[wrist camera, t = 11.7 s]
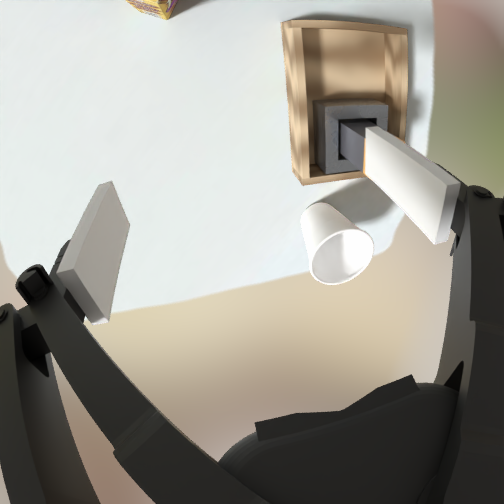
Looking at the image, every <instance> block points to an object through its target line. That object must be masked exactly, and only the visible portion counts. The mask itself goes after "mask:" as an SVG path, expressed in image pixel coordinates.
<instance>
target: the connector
mask: <svg viewBox="0 0 504 504" xmlns="http://www.w3.org/2000/svg"><path fill="white" fill-rule="evenodd" d="M376 126H377V125H375V124H374V123H372V122H370V121H368V120H366V119H364V118H355V119H338V152H340V153H341V154H342V155H343V156H344V157H345V158H347V159H348V160H349V161H350V162H351V163H352V164H354V165H355V166H356V167H357V168H358V169H359V170H360V171H361V172H363V173H364V174H365V155H366V127H376ZM378 127H379V126H378ZM380 128H381V127H380ZM381 129H382V128H381ZM383 130H384V129H383ZM385 131H386V130H385ZM386 132H388V131H386ZM388 133H389V132H388ZM390 134H391V133H390ZM391 135H393V134H391ZM393 136H394V135H393ZM394 137H396V136H394ZM396 138H398V137H396ZM398 139H399V138H398ZM399 140H401V139H399ZM401 141H402V142H404V141H403V140H401ZM404 143H405V142H404ZM365 175H366V174H365ZM366 176H367V175H366ZM367 177H368V176H367ZM368 178H369V177H368ZM369 179H370V178H369ZM370 180H371V179H370Z"/></svg>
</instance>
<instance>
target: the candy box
mask: <svg viewBox="0 0 504 504" xmlns="http://www.w3.org/2000/svg"><path fill="white" fill-rule="evenodd" d="M126 1H127V2H128V3H130V4H131V5H132V6H133V7H135V8H136V9H137V10H139V11H140V12H142V13H146V14H149V15H152V16H155V17H159V18H162V19H165V20H168V19H169V17H170V15H171V13H172V11H173V9H174V7H175V5H176V3H177V1H178V0H126Z"/></svg>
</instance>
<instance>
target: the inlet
mask: <svg viewBox="0 0 504 504" xmlns="http://www.w3.org/2000/svg"><path fill="white" fill-rule="evenodd" d="M312 104H313V128H314V162H315V163H316V164H317V165H318V166H319V167H320V168H321V170H322V171H323V172H324V173H325V174H330V173H338V172H346V171H354V170H359V169H358V168H357V167H356V166H355V165H354V164H352V163H351V162H350V161H349V160H348V159H347V158H345V157H344V156H343V155H342V154H341V153H340V152H338V119H355V118H364V119H366V120H368V121H370V122H372V123H374V124H375V125H377V126H379V127H381V128H382V129H384V130H386V131H387V126H388V105H387V104H385V103H382V102H380V101H378V100H375V99H373V98H350V99H325V100H312Z"/></svg>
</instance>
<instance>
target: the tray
mask: <svg viewBox="0 0 504 504" xmlns="http://www.w3.org/2000/svg"><path fill="white" fill-rule="evenodd" d="M281 31H282V41H283V51H284V62H285V73H286V85H287V97H288V111H289V125H290V141H291V158H292V172H293V173H294V174H295V176H296V177H297V179H298V180H299V181H300V183H301V184H302V185H303V186H304V185H311V184H317V183H324V182H331V181H339V180H346V179H354V178H362V177H367V176H366V175H365V174H364V173H363V172H361V171H360V170H354V171H346V172H338V173H330V174H325V173H324V172H323V171H322V170H321V168H320V167H319V166H318V165H317V164H316V163H315V162H314V128H313V104H312V100H325V99H350V98H373V99H375V100H378V101H380V102H382V103H385V104H387V105H388V126H387V131H388V132H389V133H391V134H393V135H394V136H396V137H398V138H399V139H401V140H403V141H405V129H406V114H407V92H408V37H407V29H405V28H399V27H393V26H386V25H378V24H369V23H359V22H347V21H330V20H290V21H286V22H281Z"/></svg>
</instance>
